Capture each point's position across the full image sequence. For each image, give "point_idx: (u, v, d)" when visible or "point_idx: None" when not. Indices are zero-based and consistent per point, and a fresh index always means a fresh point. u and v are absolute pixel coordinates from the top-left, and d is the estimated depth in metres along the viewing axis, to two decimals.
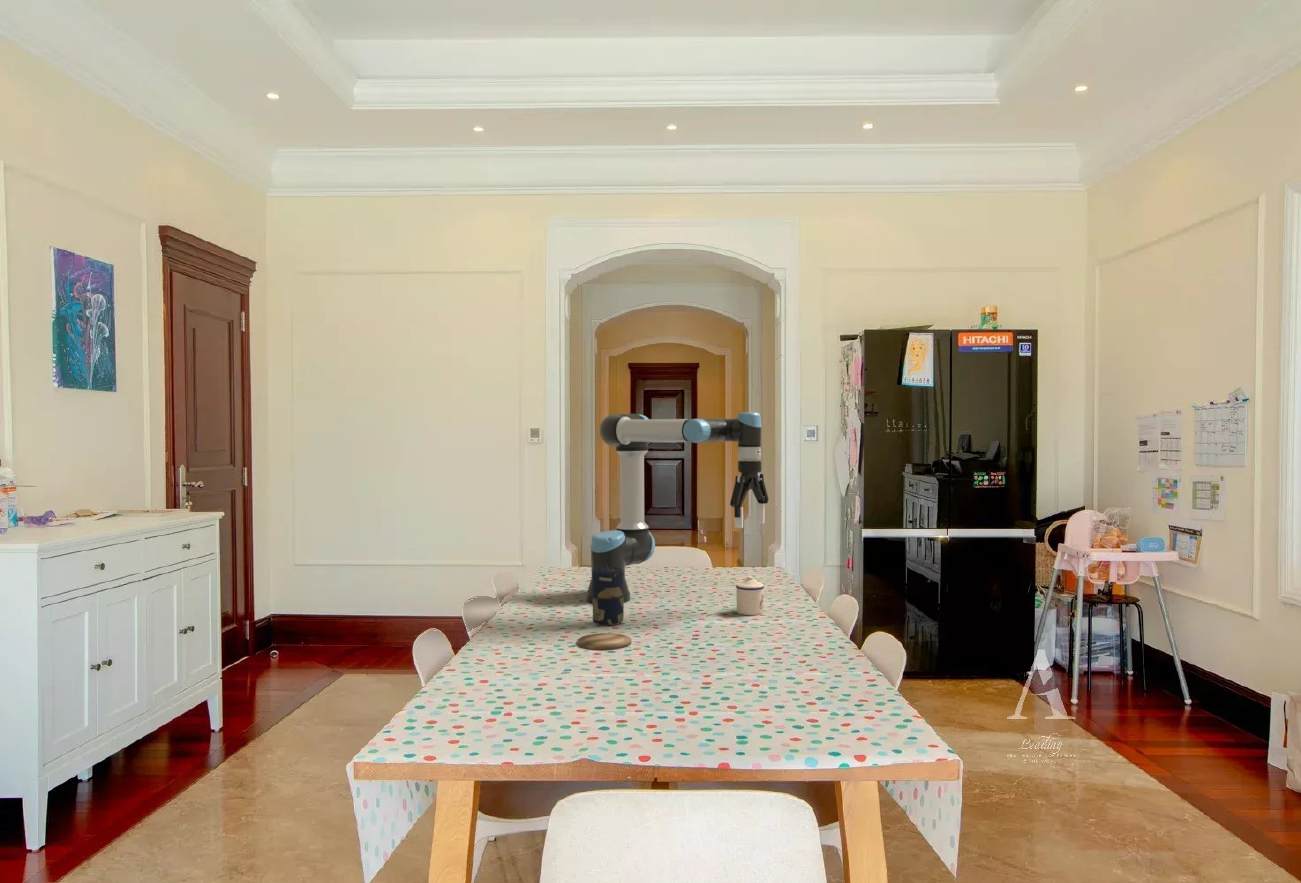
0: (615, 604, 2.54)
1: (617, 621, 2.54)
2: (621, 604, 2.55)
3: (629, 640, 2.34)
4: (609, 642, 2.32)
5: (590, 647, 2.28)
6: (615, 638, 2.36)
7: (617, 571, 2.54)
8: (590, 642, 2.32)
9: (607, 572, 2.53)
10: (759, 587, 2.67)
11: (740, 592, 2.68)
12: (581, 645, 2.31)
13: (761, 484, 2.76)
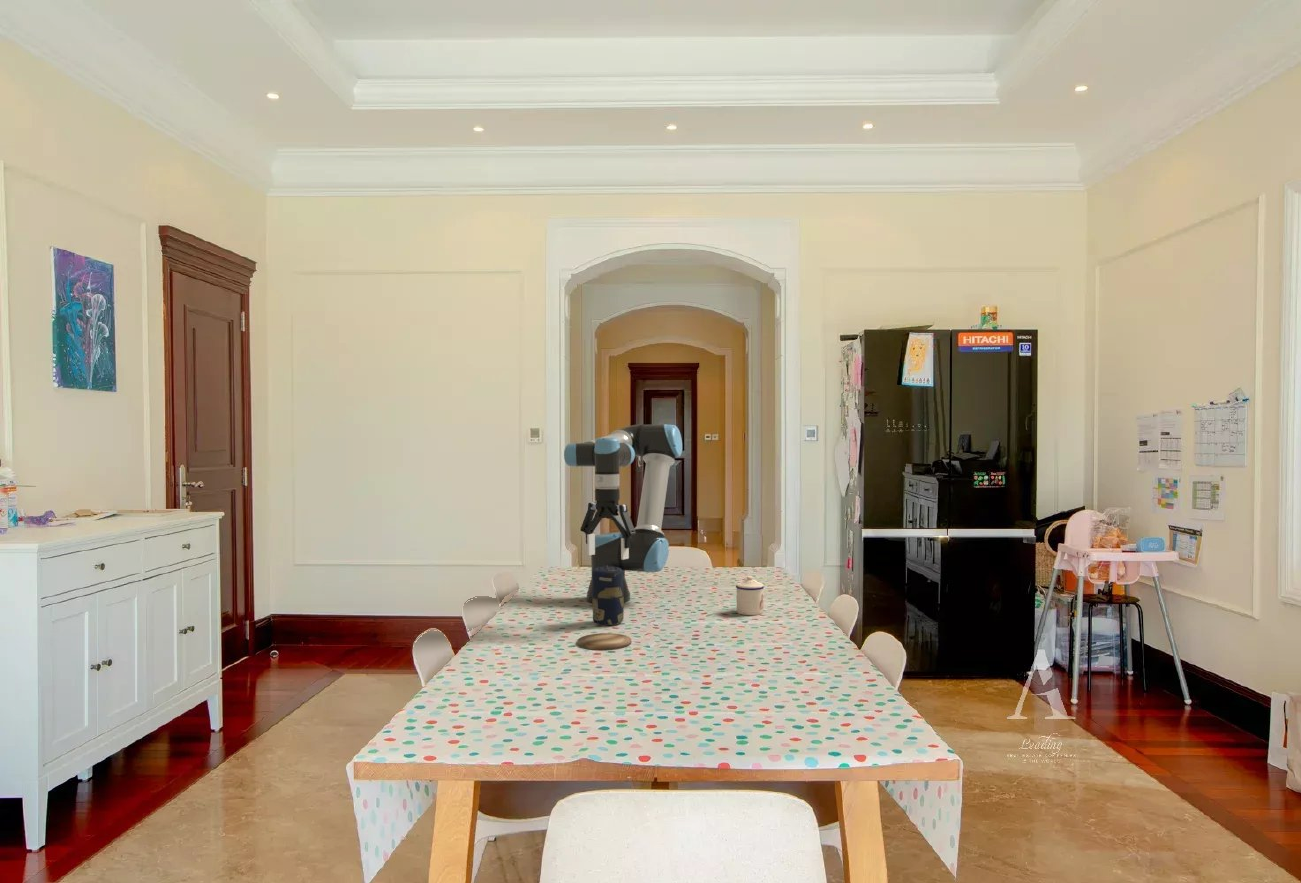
0: (615, 604, 2.54)
1: (617, 621, 2.54)
2: (621, 604, 2.55)
3: (629, 640, 2.34)
4: (609, 642, 2.32)
5: (590, 647, 2.28)
6: (615, 638, 2.36)
7: (617, 571, 2.54)
8: (590, 642, 2.32)
9: (607, 572, 2.53)
10: (759, 587, 2.67)
11: (740, 592, 2.68)
12: (581, 645, 2.31)
13: None
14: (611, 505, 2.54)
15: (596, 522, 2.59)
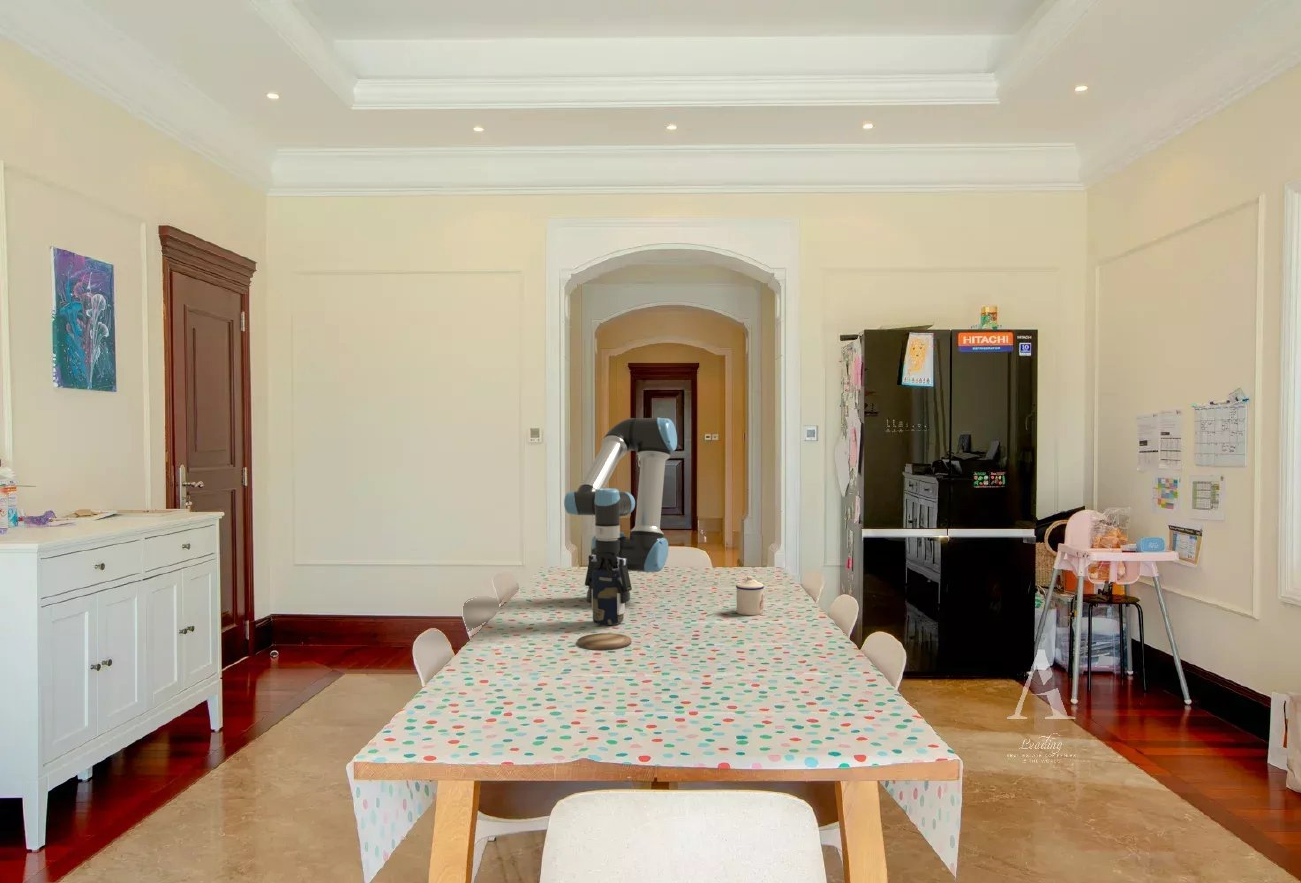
0: (615, 604, 2.54)
1: (617, 621, 2.54)
2: None
3: (629, 640, 2.34)
4: (609, 642, 2.32)
5: (590, 647, 2.28)
6: (615, 638, 2.36)
7: (617, 571, 2.54)
8: (590, 642, 2.32)
9: (607, 572, 2.53)
10: (759, 587, 2.67)
11: (740, 592, 2.68)
12: (581, 645, 2.31)
13: None
14: (612, 556, 2.55)
15: None
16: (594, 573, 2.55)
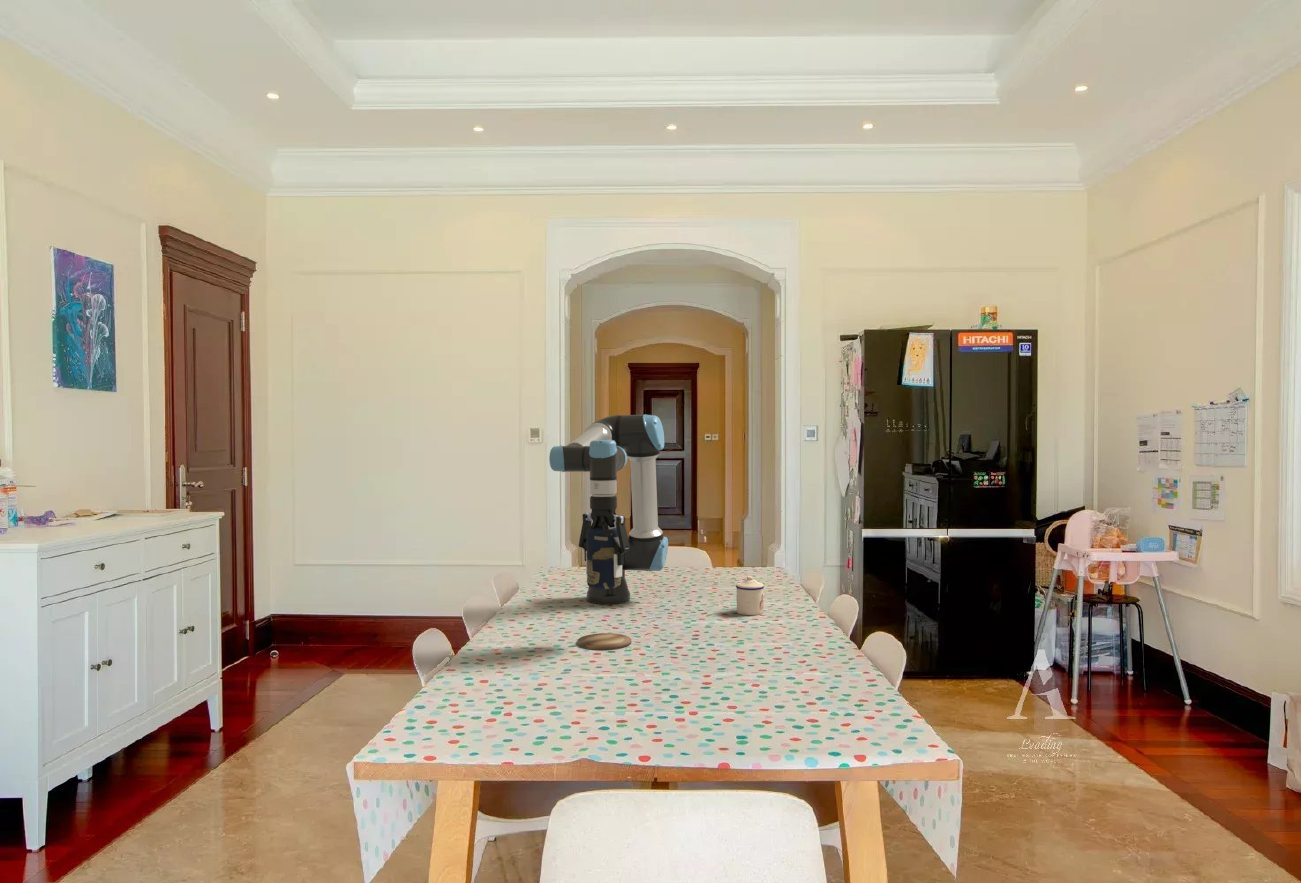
0: (611, 566, 2.30)
1: (614, 585, 2.31)
2: None
3: (629, 640, 2.34)
4: (609, 642, 2.32)
5: (590, 647, 2.28)
6: (615, 638, 2.36)
7: (614, 530, 2.31)
8: (590, 642, 2.32)
9: (603, 531, 2.30)
10: (759, 587, 2.67)
11: (740, 592, 2.68)
12: (581, 645, 2.31)
13: None
14: (608, 514, 2.32)
15: None
16: (588, 532, 2.32)
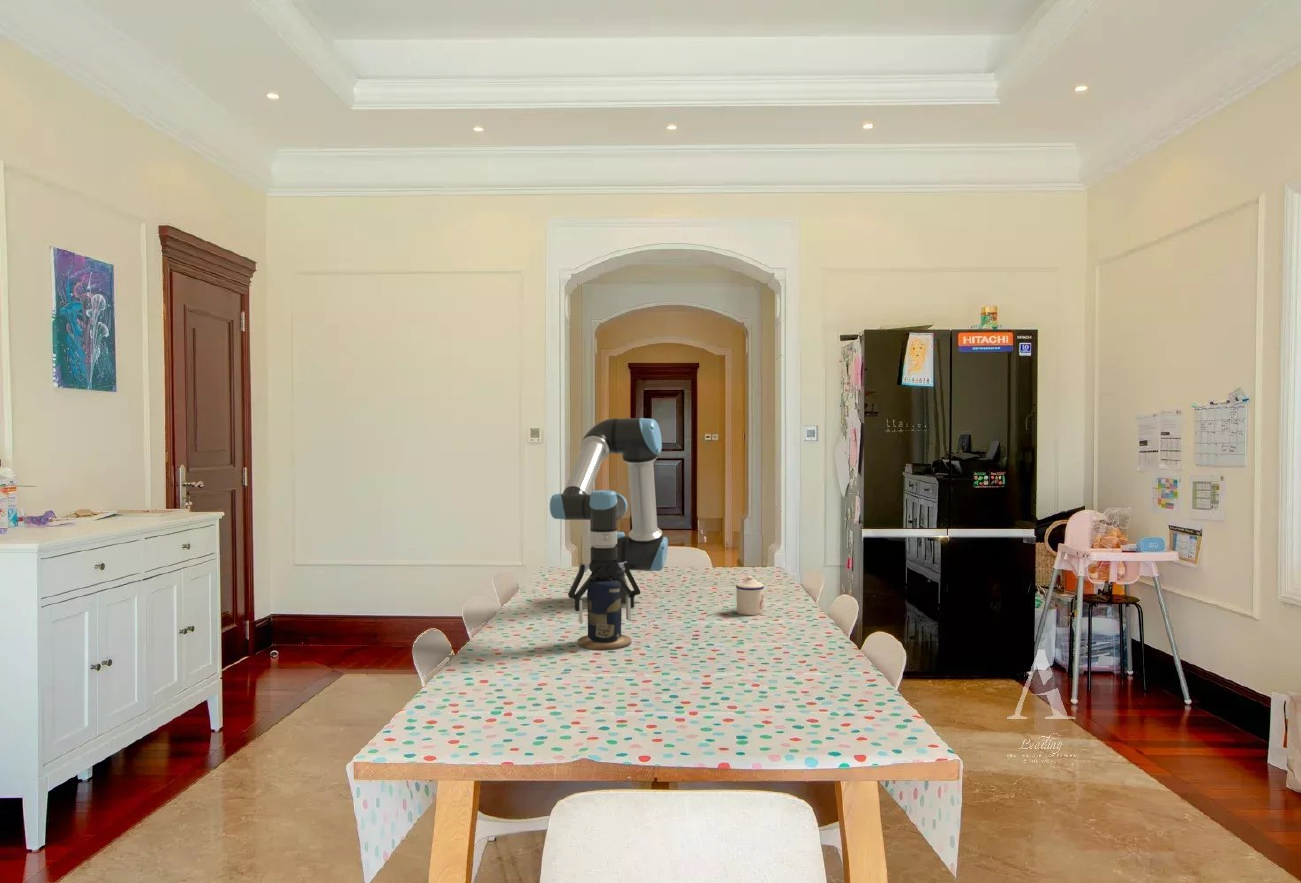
0: None
1: None
2: None
3: (629, 640, 2.34)
4: (609, 642, 2.32)
5: (590, 647, 2.28)
6: None
7: None
8: (590, 642, 2.32)
9: (616, 582, 2.32)
10: (759, 587, 2.67)
11: (740, 592, 2.68)
12: (581, 645, 2.31)
13: (626, 574, 2.35)
14: (613, 564, 2.34)
15: None
16: (601, 586, 2.30)
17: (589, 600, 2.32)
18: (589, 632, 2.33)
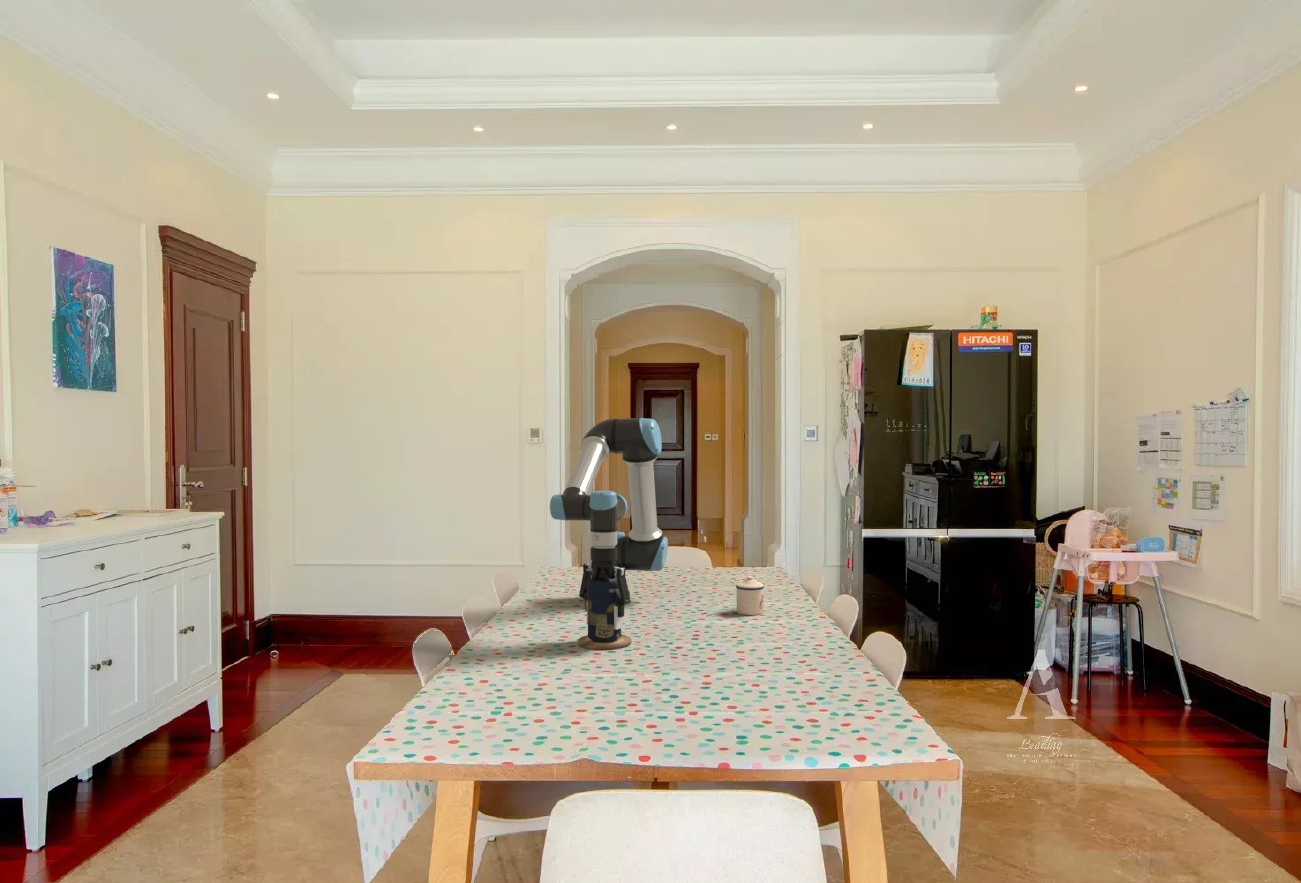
0: None
1: None
2: None
3: (629, 640, 2.34)
4: (609, 642, 2.32)
5: (590, 647, 2.28)
6: None
7: None
8: (590, 642, 2.32)
9: (616, 582, 2.32)
10: (759, 587, 2.67)
11: (740, 592, 2.68)
12: (581, 645, 2.31)
13: None
14: (608, 565, 2.32)
15: None
16: (601, 586, 2.30)
17: (589, 600, 2.32)
18: (589, 632, 2.33)
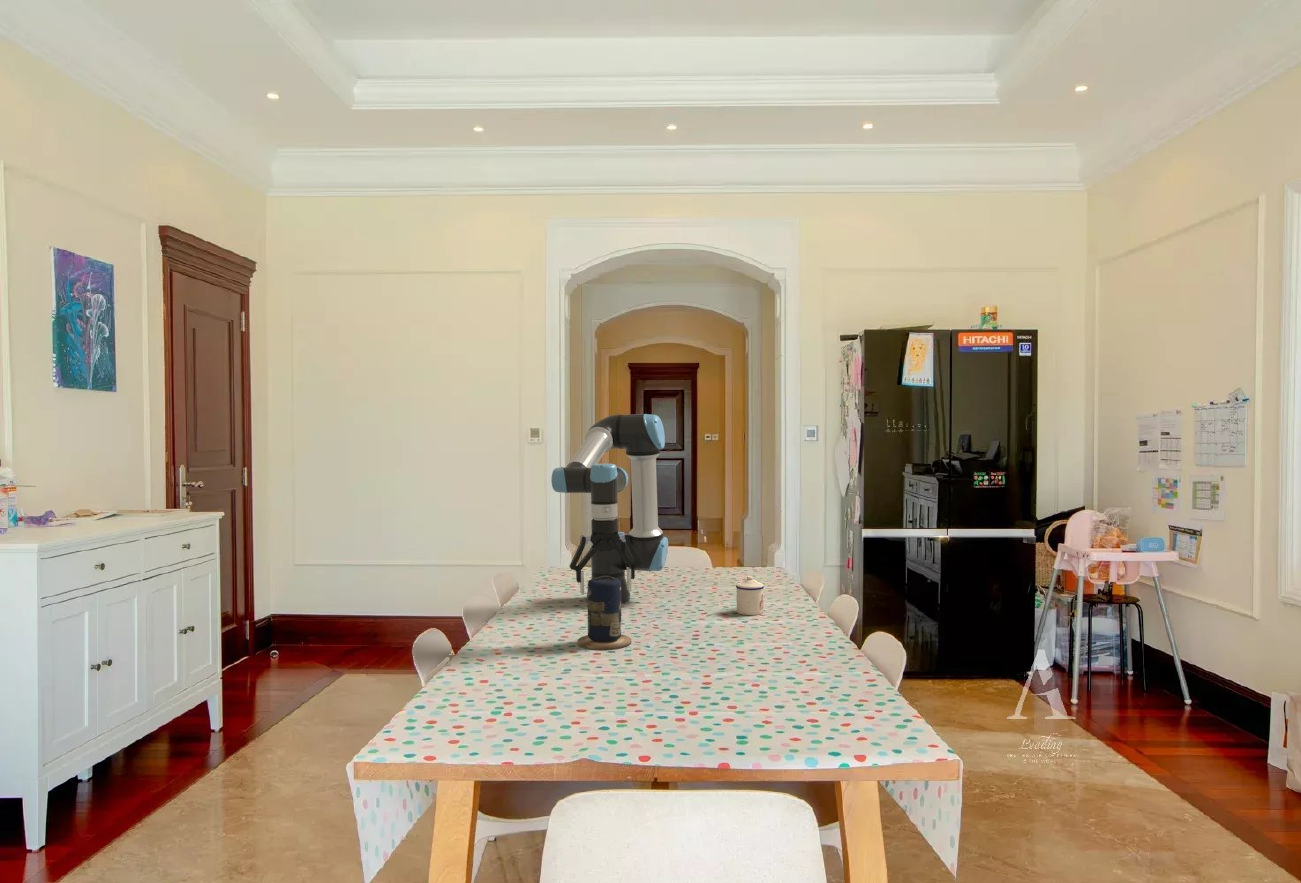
0: None
1: None
2: None
3: (629, 640, 2.34)
4: (609, 642, 2.32)
5: (590, 647, 2.28)
6: None
7: None
8: (590, 642, 2.32)
9: (619, 580, 2.35)
10: (759, 587, 2.67)
11: (740, 592, 2.68)
12: (581, 645, 2.31)
13: (627, 546, 2.39)
14: (614, 536, 2.37)
15: None
16: (614, 585, 2.31)
17: (600, 602, 2.30)
18: (600, 634, 2.30)
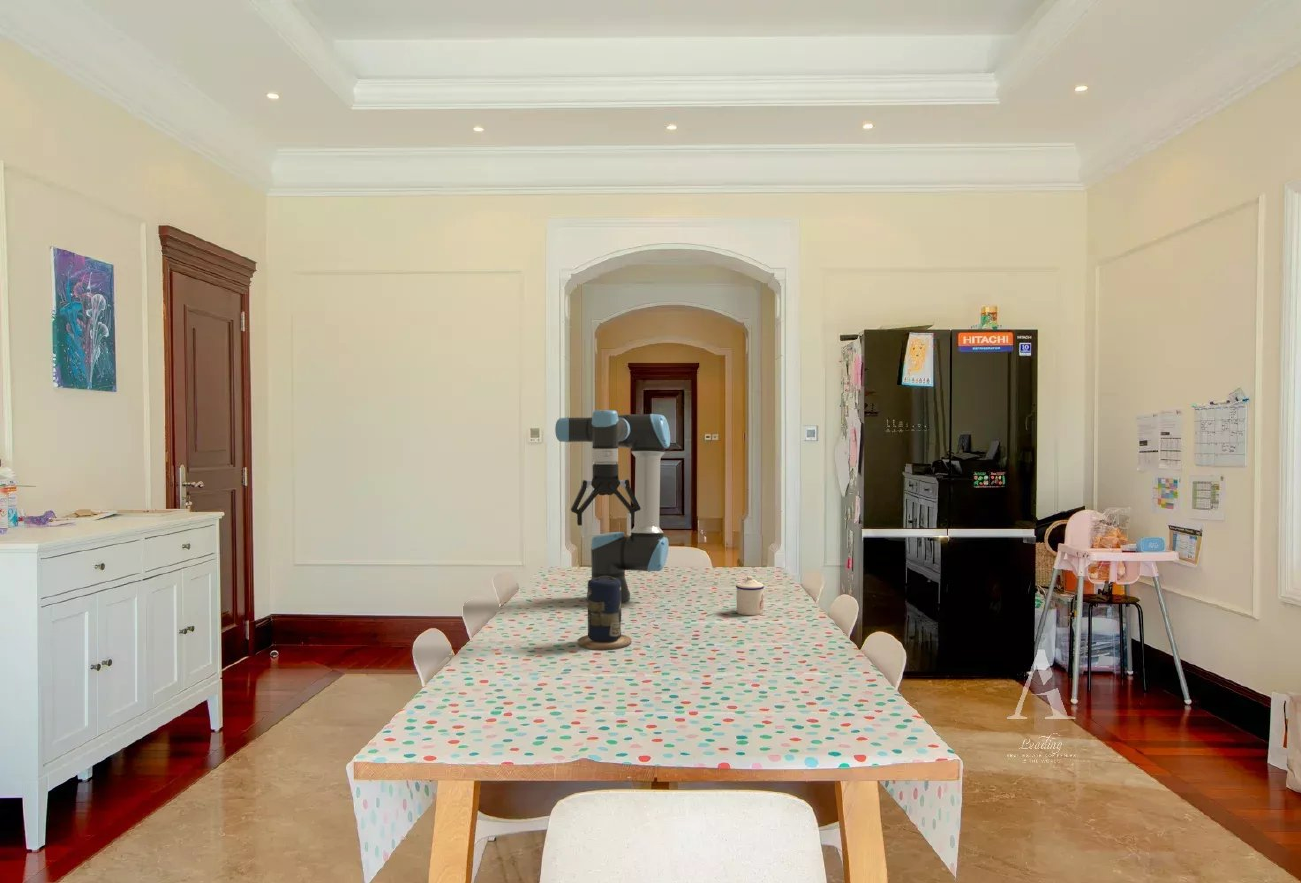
0: None
1: None
2: None
3: (629, 640, 2.34)
4: (609, 642, 2.32)
5: (590, 647, 2.28)
6: None
7: None
8: (590, 642, 2.32)
9: (619, 580, 2.35)
10: (759, 587, 2.67)
11: (740, 592, 2.68)
12: (581, 645, 2.31)
13: (627, 491, 2.45)
14: (614, 480, 2.43)
15: None
16: (614, 585, 2.31)
17: (600, 602, 2.30)
18: (600, 634, 2.30)
